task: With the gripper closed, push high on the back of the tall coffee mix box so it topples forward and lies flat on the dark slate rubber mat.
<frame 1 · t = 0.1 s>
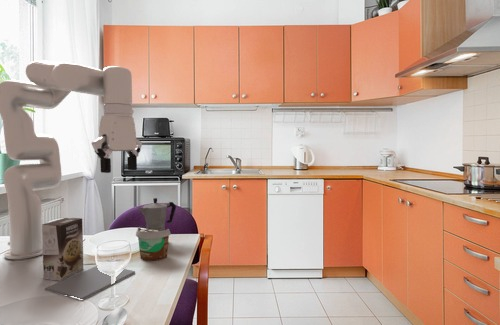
hand: (119, 171, 90), 31 cm above the table, tool pointing down, fingers open, 9 cm apart
mat: (92, 280, 88), on the table
food container: (150, 259, 105), on the table
coffee box: (64, 274, 93), on the table
coffeepot: (158, 243, 122), on the table
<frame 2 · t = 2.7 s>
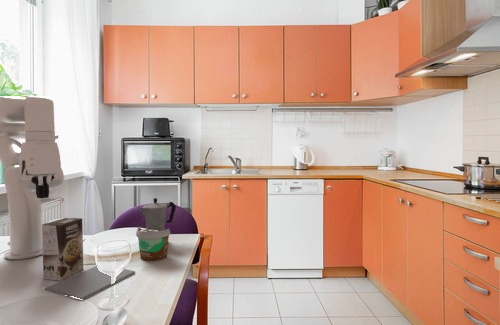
hand: (42, 197, 95), 22 cm above the table, tool pointing down, fingers closed
nothing on the table moved.
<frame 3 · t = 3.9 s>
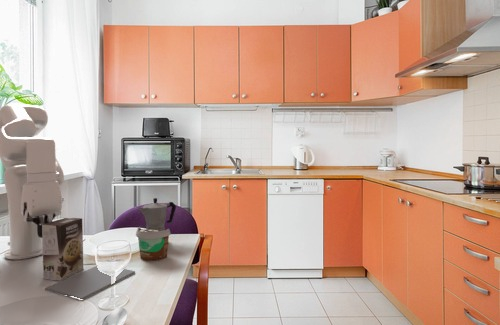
hand: (44, 236, 96), 10 cm above the table, tool pointing down, fingers closed
nothing on the table moved.
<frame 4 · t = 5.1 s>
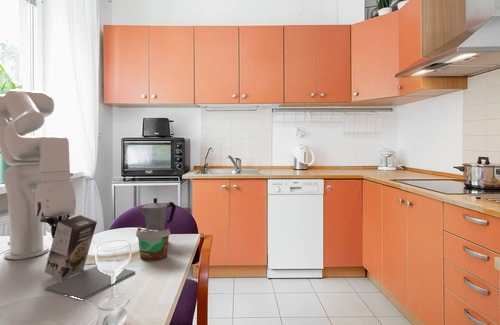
hand: (58, 238, 93), 11 cm above the table, tool pointing down, fingers closed
coffee box: (64, 271, 93), point 1 cm above the table
everything else where it was.
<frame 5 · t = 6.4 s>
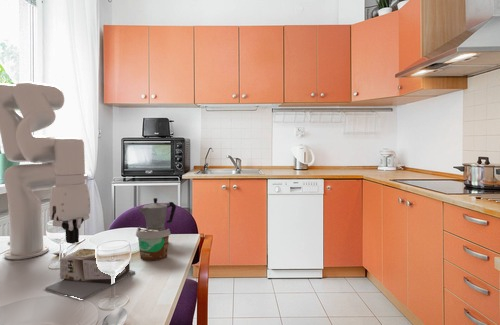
hand: (72, 242, 91), 10 cm above the table, tool pointing down, fingers closed
coffee box: (70, 263, 92), point 4 cm above the table, touching mat
everything else where it was.
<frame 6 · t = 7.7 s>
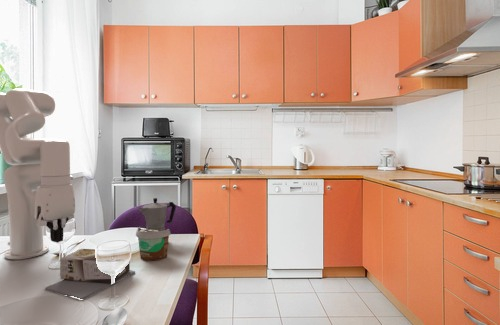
hand: (57, 240, 94), 10 cm above the table, tool pointing down, fingers closed
nothing on the table moved.
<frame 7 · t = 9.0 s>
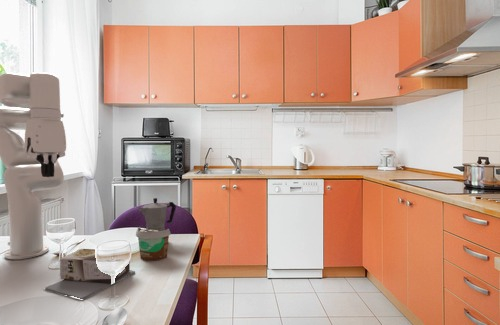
hand: (48, 176, 94), 29 cm above the table, tool pointing down, fingers closed
nothing on the table moved.
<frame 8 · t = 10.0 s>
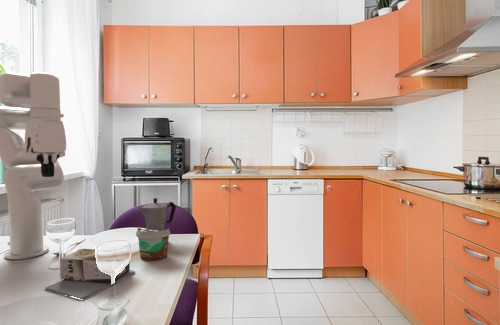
hand: (48, 176, 94), 29 cm above the table, tool pointing down, fingers closed
nothing on the table moved.
at the end: coffee box tilted 90°; coffee box touching mat; coffee box inside the target area (1.8 cm from its centre), point 3.8 cm above the table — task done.
